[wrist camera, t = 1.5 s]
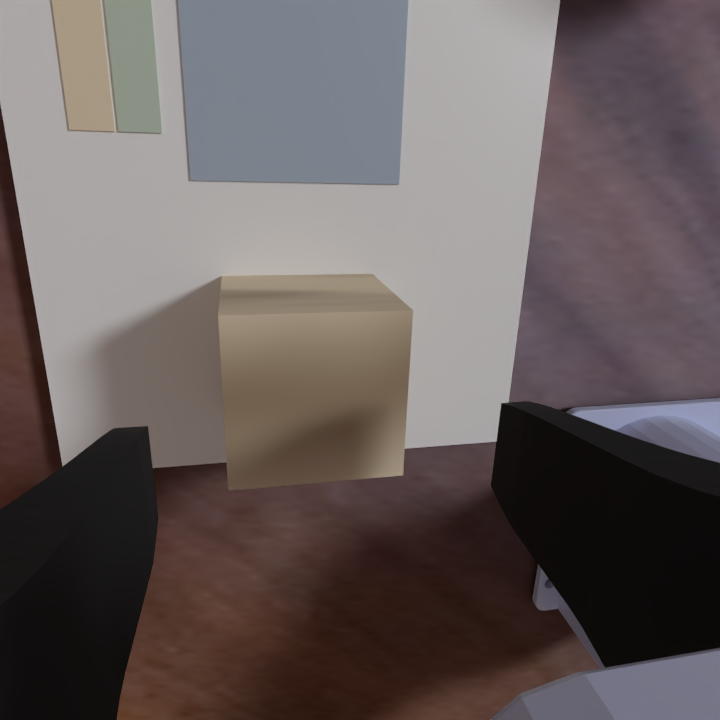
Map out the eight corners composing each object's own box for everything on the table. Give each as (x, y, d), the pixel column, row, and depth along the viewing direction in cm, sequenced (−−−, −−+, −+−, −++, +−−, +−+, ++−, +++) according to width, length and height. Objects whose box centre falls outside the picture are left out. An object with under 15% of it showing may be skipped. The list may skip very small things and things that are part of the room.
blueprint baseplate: (496, 433, 22) (504, 441, 21) (68, 465, 19) (63, 476, 18) (608, -480, 13) (627, -510, 13) (-124, -689, 10) (-147, -742, 10)
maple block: (367, 407, 19) (402, 475, 15) (229, 416, 18) (228, 490, 14) (372, 273, 18) (413, 310, 14) (222, 275, 17) (217, 315, 13)
